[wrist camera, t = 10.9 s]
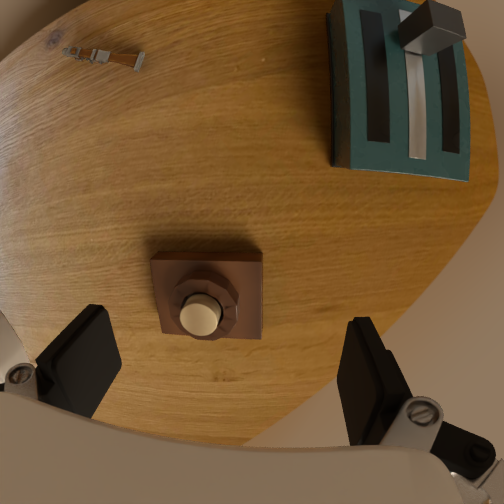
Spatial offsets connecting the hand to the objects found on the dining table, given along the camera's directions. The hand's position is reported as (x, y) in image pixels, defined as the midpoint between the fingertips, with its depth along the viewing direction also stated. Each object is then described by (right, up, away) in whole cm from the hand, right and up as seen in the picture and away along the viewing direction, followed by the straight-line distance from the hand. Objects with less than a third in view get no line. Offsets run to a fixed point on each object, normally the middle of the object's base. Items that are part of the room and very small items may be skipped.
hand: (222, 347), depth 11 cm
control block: (-3, 0, +18) cm, 18 cm away
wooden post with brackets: (-12, +22, +11) cm, 27 cm away
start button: (-3, -1, +15) cm, 15 cm away
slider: (+12, +18, +4) cm, 22 cm away
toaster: (+13, +17, +11) cm, 24 cm away
